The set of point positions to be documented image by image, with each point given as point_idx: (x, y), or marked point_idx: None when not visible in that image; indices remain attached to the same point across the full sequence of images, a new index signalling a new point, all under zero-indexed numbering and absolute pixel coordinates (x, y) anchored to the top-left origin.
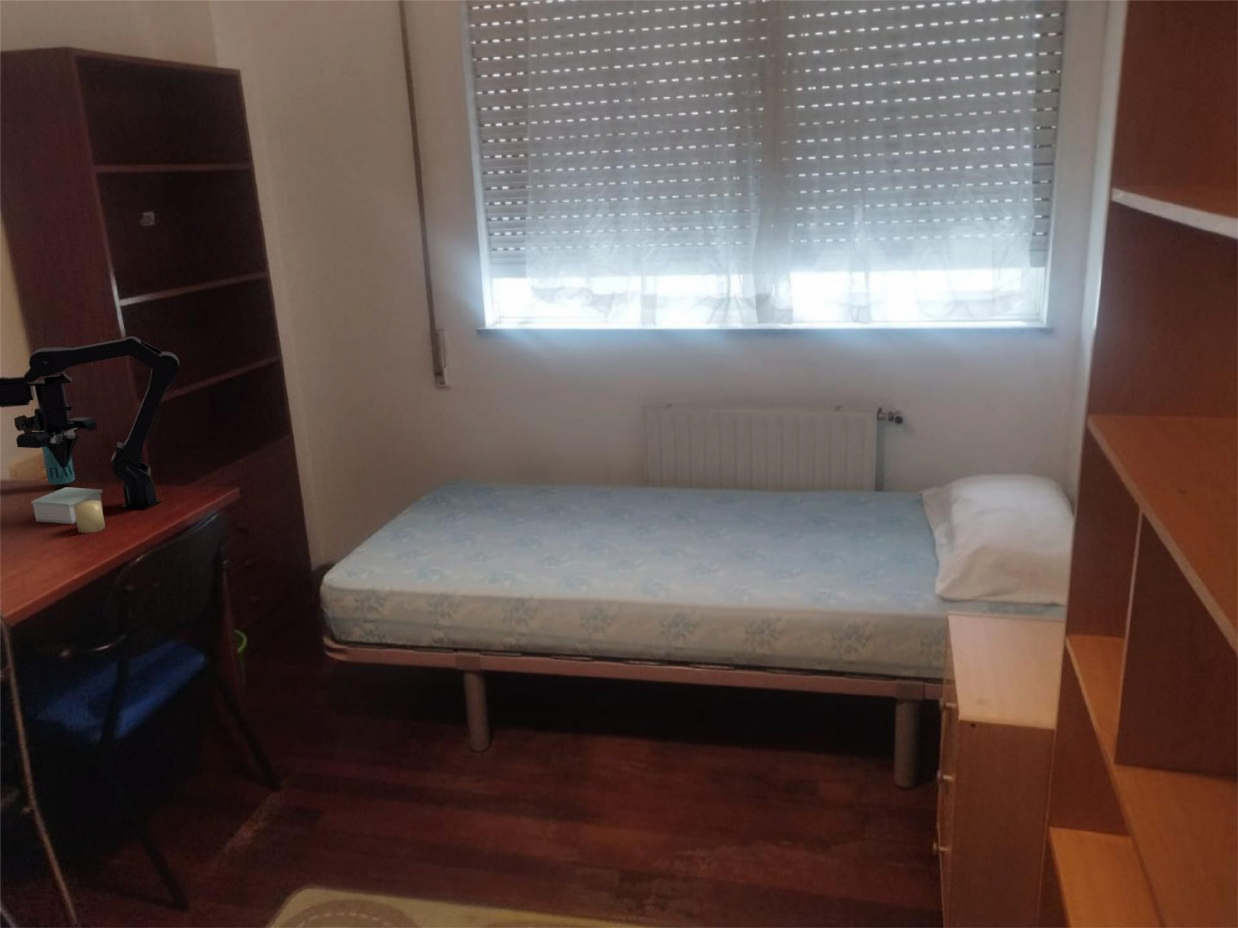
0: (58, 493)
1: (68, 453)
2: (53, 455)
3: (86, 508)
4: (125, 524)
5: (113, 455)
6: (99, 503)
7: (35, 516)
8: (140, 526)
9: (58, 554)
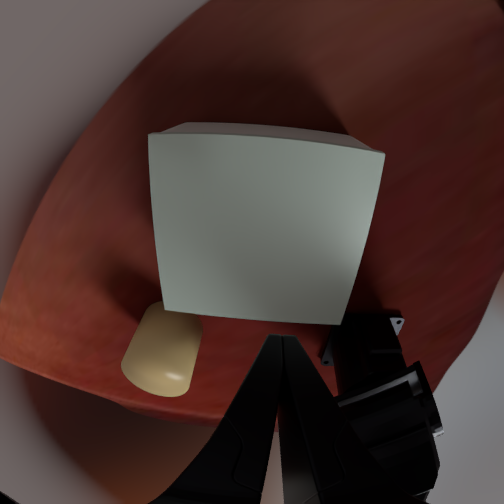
0: (282, 182)
1: (281, 464)
2: (226, 414)
3: (133, 382)
4: (217, 368)
5: (400, 448)
6: (171, 395)
7: (180, 124)
8: (213, 390)
9: (58, 331)
